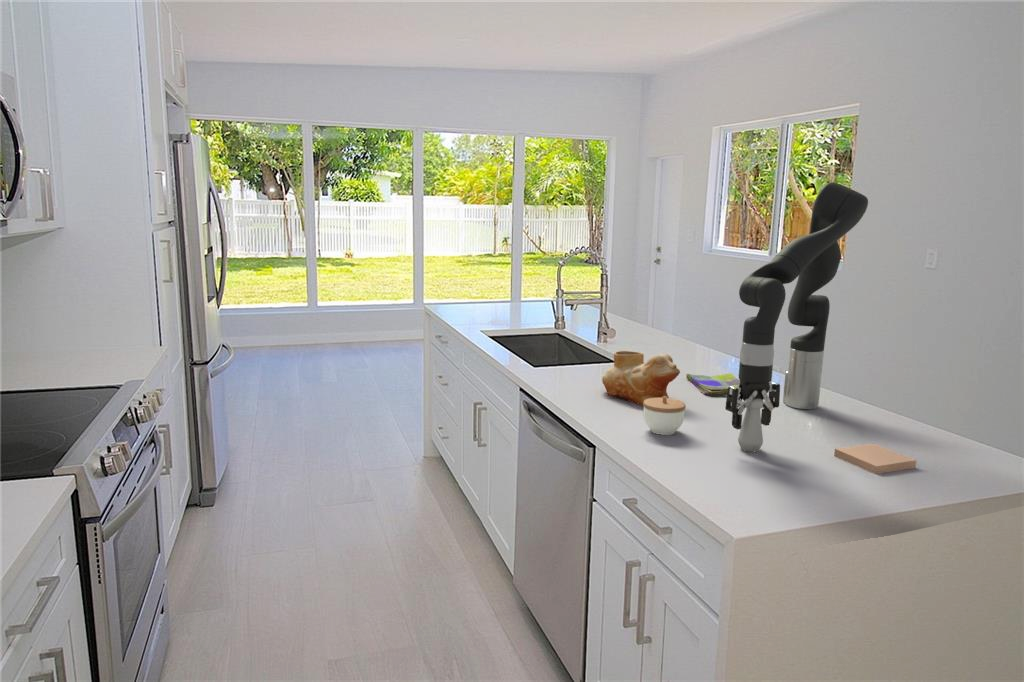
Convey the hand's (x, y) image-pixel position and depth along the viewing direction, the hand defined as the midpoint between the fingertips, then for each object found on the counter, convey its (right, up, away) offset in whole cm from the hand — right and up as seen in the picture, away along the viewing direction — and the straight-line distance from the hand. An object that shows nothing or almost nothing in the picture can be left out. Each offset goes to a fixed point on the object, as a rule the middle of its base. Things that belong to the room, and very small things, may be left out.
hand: (750, 426), depth 171 cm
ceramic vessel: (-19, +3, +46) cm, 50 cm away
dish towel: (+11, +5, +61) cm, 62 cm away
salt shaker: (0, -6, +1) cm, 6 cm away
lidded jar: (-18, -3, +14) cm, 23 cm away
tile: (+25, -6, -1) cm, 25 cm away
